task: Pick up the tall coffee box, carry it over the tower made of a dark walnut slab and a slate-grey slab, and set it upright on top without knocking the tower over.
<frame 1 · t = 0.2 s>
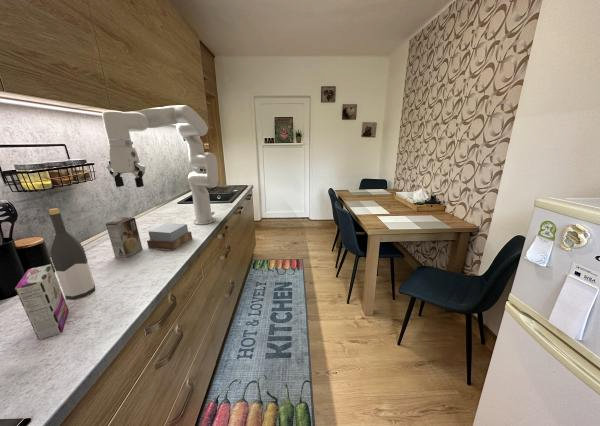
hand: (130, 186, 102), 31 cm above the worktop, fingers open, 9 cm apart
tower top slab: (169, 236, 120), point 4 cm above the worktop, touching tower base slab
wine bottle: (81, 293, 83), on the worktop
coffee box: (129, 253, 112), on the worktop
tower base slab: (171, 244, 122), on the worktop, touching tower top slab
candy bar box: (54, 325, 68), on the worktop
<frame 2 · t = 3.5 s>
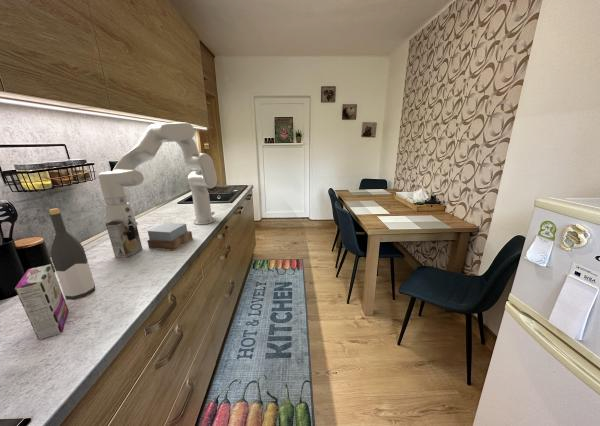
hand: (125, 238, 110), 7 cm above the worktop, fingers closed on coffee box, 6 cm apart
coffee box: (129, 253, 112), on the worktop, touching gripper
everything else where it was.
when the fingers open (17 cm above the worktop, at t = 10.4 s): coffee box drops 2 cm, point 8 cm above the worktop.
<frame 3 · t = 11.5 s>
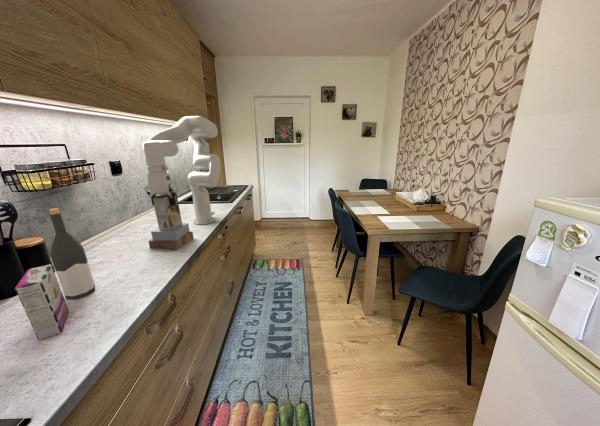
hand: (164, 205, 116), 20 cm above the worktop, fingers open, 9 cm apart
tower top slab: (172, 235, 121), point 4 cm above the worktop, touching tower base slab
coffee box: (171, 227, 119), point 8 cm above the worktop, touching gripper
everything else where it was.
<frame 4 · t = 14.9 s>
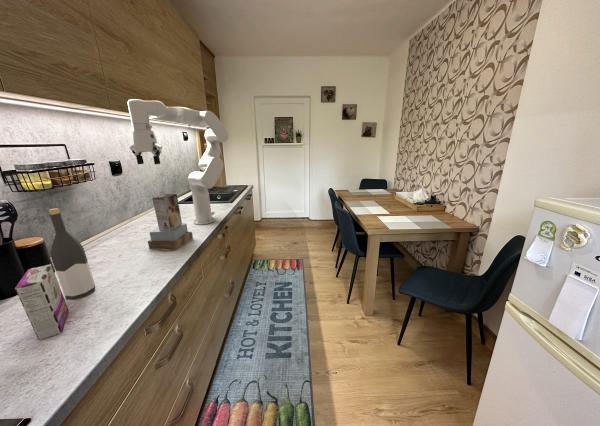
hand: (149, 164, 121), 38 cm above the worktop, fingers open, 9 cm apart
coffee box: (171, 227, 119), point 8 cm above the worktop
at the end: coffee box inside the target area on the tower top slab (1.4 cm from its centre), point 4.3 cm above the tower top slab's base; coffee box tilted 0°; tower top slab moved 0.6 cm from its start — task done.
